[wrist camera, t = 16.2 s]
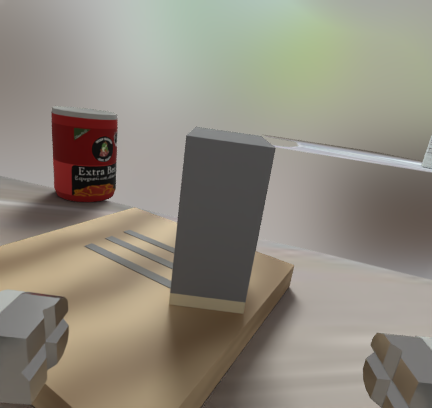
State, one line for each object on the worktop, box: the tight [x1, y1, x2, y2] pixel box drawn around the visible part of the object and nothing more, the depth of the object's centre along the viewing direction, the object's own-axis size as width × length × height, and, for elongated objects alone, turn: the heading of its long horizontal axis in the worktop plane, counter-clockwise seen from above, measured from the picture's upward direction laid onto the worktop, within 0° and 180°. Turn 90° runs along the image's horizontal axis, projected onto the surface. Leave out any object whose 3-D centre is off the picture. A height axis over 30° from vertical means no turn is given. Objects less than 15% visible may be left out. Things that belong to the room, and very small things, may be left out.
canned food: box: [52, 107, 117, 202], centre depth 41 cm, size 8×8×11 cm
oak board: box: [0, 207, 294, 408], centre depth 22 cm, size 18×18×2 cm
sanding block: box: [169, 127, 275, 314], centre depth 20 cm, size 6×4×10 cm
